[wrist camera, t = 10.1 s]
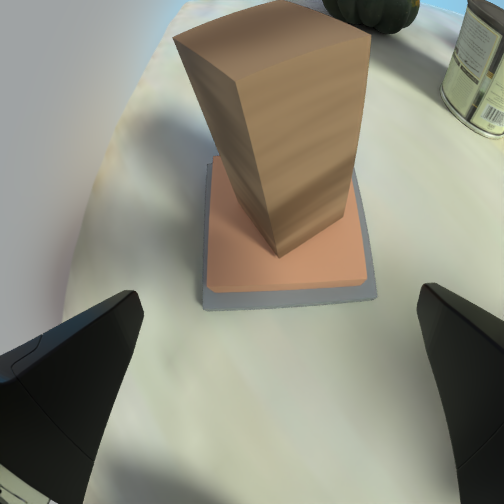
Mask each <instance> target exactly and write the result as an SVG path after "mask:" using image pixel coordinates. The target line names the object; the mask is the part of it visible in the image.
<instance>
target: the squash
mask: <svg viewBox="0 0 504 504" xmlns="http://www.w3.org/2000/svg"><path fill="white" fill-rule="evenodd" d="M322 2H323V4H324V6H325V8H326V9H327V11H328V12H329V13H330V14H331V15H332V16H333V17H335V18H336V19H338V20H340V21H343V22H349V23H352V24H361V23H363V24H365V25H367V26H374V28H375V29H377V30H378V31H380V32H382V33H385V34H395V33H397V32H399V31H400V30H401V29H402V28H405V27H408V26H409V25H410V24H411V23H412V22H413V21H414V19H415V18H416V16H417V14H418V10H419V6H420V0H322Z"/></svg>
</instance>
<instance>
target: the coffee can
mask: <svg viewBox="0 0 504 504" xmlns="http://www.w3.org/2000/svg"><path fill="white" fill-rule="evenodd" d="M467 1H468V5H467V9H466V13H465V16H464V20H463V23H462V27H461V30H460V33H459V37H458V40H457V43H456V46H455V49H454V52H453V55H452V58H451V61H450V64H449V67H448V70H447V72H446V75H445V78H444V81H443V83H442V84H441V86H440V93H441V97H442V99H443V101H444V102H445V104H446V106H447V107H448V108H449V110H450V111H451V112H452V113H453V114H454V115H455V116H456V117H457V118H458V119H459V120H460V121H461V122H462V123H464V124H465V125H466V126H467V127H469V128H470V129H472V130H473V131H474V132H477V133H479V134H480V135H482V136H485V137H487V138H491V139H500V138H503V137H504V10H503V9H502V8H500V7H498V6H496V5H494V4H493V3H491V2H488V1H486V0H467Z"/></svg>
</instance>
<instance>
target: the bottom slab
mask: <svg viewBox="0 0 504 504" xmlns="http://www.w3.org/2000/svg"><path fill="white" fill-rule="evenodd" d="M212 167H213V163H212V164H207V178H206V197H205V221H204V253H203V309H204V310H206V311H232V310H255V309H273V308H289V307H303V306H316V305H328V304H339V303H349V302H359V301H369V300H374V299H375V298H377V289H376V281H375V273H374V266H373V259H372V253H371V247H370V241H369V235H368V229H367V224H366V219H365V214H364V209H363V204H362V199H361V195H360V190H359V186H358V181H357V177H356V173H355V169H354V168H353V173H352V182H353V187H354V192H355V197H356V203H357V209H358V214H359V220H360V227H361V233H362V240H363V247H364V254H365V262H366V271H367V280H366V281H365V282H364V283H363V284H362V285H361V286H347V287H332V288H317V289H299V290H279V291H256V292H226V293H214V292H213V291H212V290H210V289H209V288H208V287H207V259H208V235H209V215H210V197H211V181H212Z"/></svg>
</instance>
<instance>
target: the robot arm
mask: <svg viewBox="0 0 504 504" xmlns="http://www.w3.org/2000/svg"><path fill="white" fill-rule="evenodd" d="M417 315H418V319H419V323H420V327H421V331H422V335H423V339H424V343H425V348H426V352H427V355H428V358H429V361H430V364H431V367H432V371H433V374H434V377H435V380H436V384H437V387H438V390H439V394H440V398H441V401H442V405H443V409H444V413H445V417H446V421H447V425H448V429H449V434H450V438H451V443H452V448H453V453H454V458H455V464H456V469H457V478H458V485H459V493H460V502H461V504H504V321H502V320H501V319H499V318H497V317H496V316H494V315H492V314H491V313H489V312H487V311H485V310H484V309H482V308H480V307H478V306H477V305H475V304H473V303H471V302H470V301H468V300H466V299H464V298H462V297H461V296H459V295H457V294H455V293H453V292H451V291H450V290H448V289H446V288H444V287H442V286H440V285H438V284H437V283H424V284H423V285H422V287H421V291H420V295H419V299H418V303H417ZM143 318H144V311H143V308H142V305H141V302H140V299H139V296H138V293H137V292H136V291H134V290H124V291H122V292H120V293H118V294H116V295H114V296H112V297H110V298H108V299H106V300H105V301H103V302H101V303H99V304H97V305H95V306H93V307H91V308H89V309H88V310H86V311H84V312H82V313H80V314H78V315H76V316H74V317H73V318H71V319H69V320H67V321H65V322H63V323H61V324H60V325H58V326H56V327H54V328H52V329H50V330H49V331H47V332H45V333H43V335H39V336H38V337H36V338H34V339H32V340H30V341H28V342H27V343H25V344H23V345H21V346H19V347H17V348H15V349H13V350H11V351H9V352H7V353H5V354H3V355H1V356H0V504H49V502H50V500H53V501H54V502H56V503H58V504H83V500H84V496H85V493H86V489H87V485H88V482H89V478H90V475H91V472H92V468H93V465H94V461H95V458H96V455H97V452H98V449H99V446H100V442H101V439H102V436H103V433H104V430H105V428H106V425H107V422H108V419H109V416H110V413H111V410H112V408H113V405H114V402H115V399H116V397H117V394H118V391H119V389H120V386H121V383H122V381H123V378H124V376H125V373H126V371H127V368H128V365H129V363H130V360H131V358H132V355H133V352H134V349H135V345H136V342H137V338H138V335H139V331H140V328H141V325H142V321H143Z"/></svg>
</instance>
